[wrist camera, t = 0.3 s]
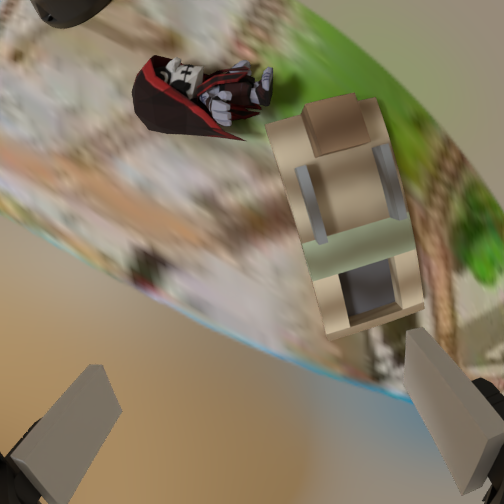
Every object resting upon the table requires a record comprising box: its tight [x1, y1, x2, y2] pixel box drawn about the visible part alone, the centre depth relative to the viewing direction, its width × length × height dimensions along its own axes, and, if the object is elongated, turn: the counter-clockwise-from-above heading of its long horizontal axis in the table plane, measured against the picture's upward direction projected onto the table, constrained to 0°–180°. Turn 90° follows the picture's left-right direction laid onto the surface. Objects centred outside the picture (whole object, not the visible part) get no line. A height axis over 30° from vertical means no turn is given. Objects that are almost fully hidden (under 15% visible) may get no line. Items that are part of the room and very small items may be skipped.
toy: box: [132, 55, 273, 141], centre depth 31 cm, size 12×9×15 cm
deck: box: [265, 97, 425, 341], centre depth 34 cm, size 26×13×6 cm, turn 18°
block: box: [301, 93, 371, 158], centre depth 30 cm, size 5×5×5 cm
